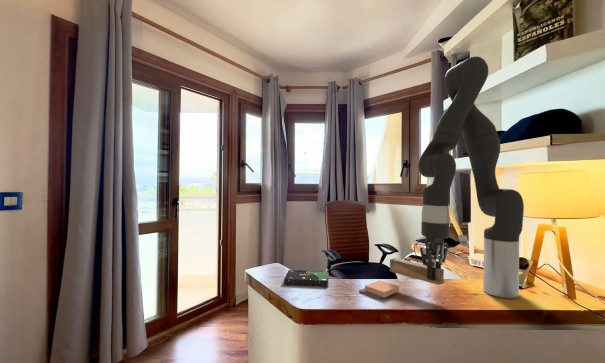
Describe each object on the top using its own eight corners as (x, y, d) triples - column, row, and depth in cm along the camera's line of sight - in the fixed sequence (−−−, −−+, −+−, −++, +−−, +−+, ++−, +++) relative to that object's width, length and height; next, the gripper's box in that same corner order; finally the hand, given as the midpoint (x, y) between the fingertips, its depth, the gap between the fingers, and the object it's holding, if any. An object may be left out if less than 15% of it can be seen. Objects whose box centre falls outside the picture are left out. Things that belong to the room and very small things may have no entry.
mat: (377, 285, 95) (377, 283, 95) (397, 291, 90) (397, 289, 90) (358, 292, 89) (359, 290, 89) (379, 299, 83) (379, 297, 83)
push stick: (394, 269, 96) (395, 257, 96) (443, 283, 83) (443, 269, 84) (389, 271, 94) (390, 259, 94) (438, 285, 82) (439, 271, 82)
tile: (398, 291, 88) (379, 285, 94) (399, 286, 88) (379, 280, 94) (384, 297, 83) (364, 290, 88) (384, 292, 83) (364, 285, 89)
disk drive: (283, 287, 94) (328, 288, 93) (284, 278, 94) (328, 280, 93) (288, 277, 104) (328, 278, 103) (288, 269, 104) (328, 270, 103)
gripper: (437, 223, 77) (435, 287, 77) (458, 220, 86) (456, 277, 86) (411, 220, 83) (410, 279, 82) (433, 218, 92) (432, 271, 92)
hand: (433, 278), depth 84 cm, fingers closed on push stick, 3 cm apart
